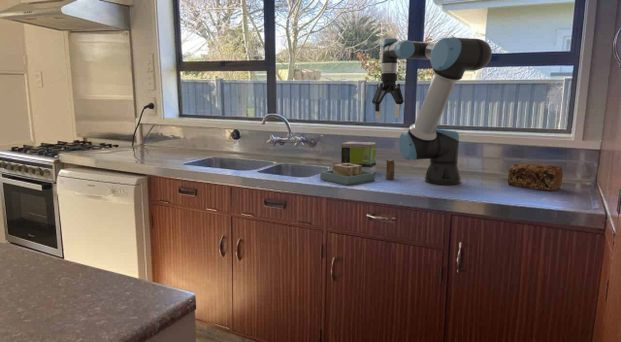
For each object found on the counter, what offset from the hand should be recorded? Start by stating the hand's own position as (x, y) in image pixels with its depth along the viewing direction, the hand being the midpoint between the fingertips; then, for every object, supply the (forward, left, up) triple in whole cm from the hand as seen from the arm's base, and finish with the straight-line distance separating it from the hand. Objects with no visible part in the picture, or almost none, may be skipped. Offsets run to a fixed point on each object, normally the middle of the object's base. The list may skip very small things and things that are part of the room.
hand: (387, 118), depth 216 cm
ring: (-2, +27, -26) cm, 38 cm away
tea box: (+10, +9, -27) cm, 30 cm away
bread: (-60, -24, -27) cm, 70 cm away
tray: (-1, +27, -27) cm, 38 cm away
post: (-11, +10, -27) cm, 30 cm away
